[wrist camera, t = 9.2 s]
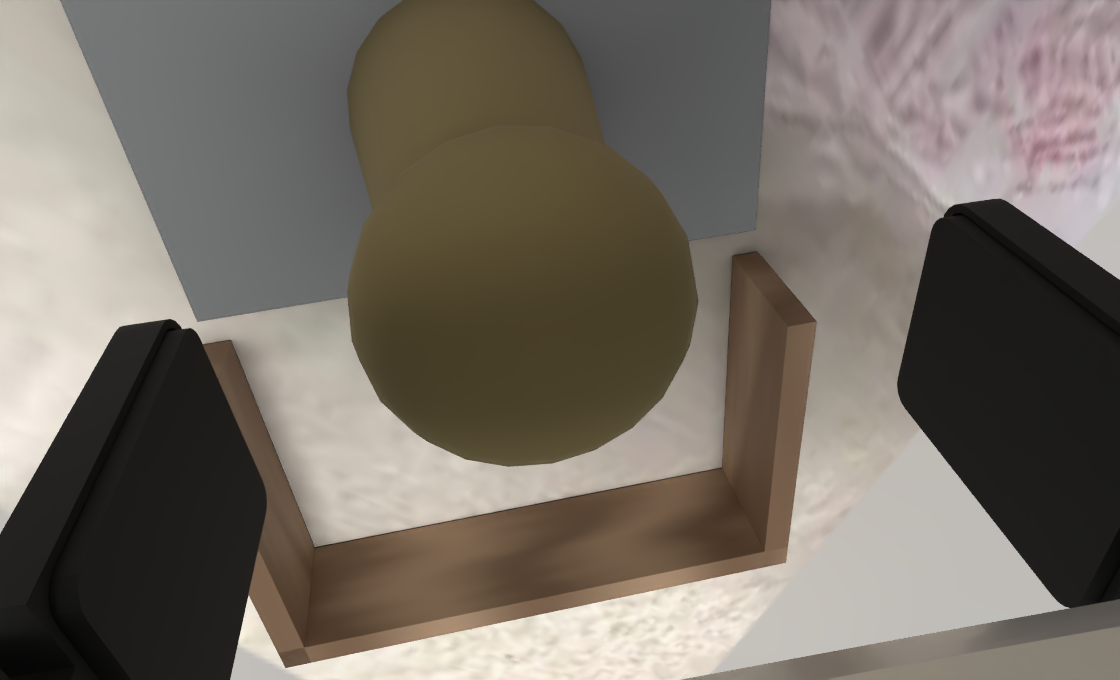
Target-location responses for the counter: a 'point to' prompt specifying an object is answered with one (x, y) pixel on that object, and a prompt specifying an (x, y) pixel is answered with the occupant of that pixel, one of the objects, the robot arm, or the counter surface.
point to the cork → (506, 240)
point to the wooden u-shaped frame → (548, 515)
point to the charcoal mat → (326, 141)
